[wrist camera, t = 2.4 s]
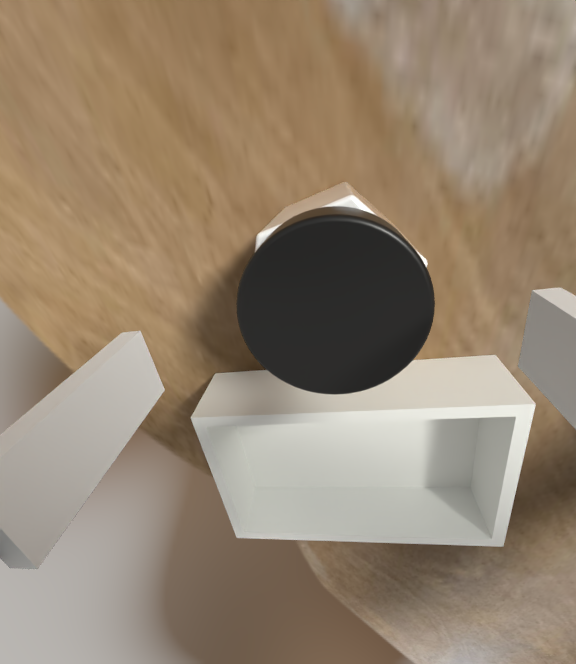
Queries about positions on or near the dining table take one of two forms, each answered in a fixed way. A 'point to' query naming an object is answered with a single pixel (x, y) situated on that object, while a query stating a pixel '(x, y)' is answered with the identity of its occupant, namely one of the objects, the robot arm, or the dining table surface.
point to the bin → (370, 454)
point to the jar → (334, 295)
